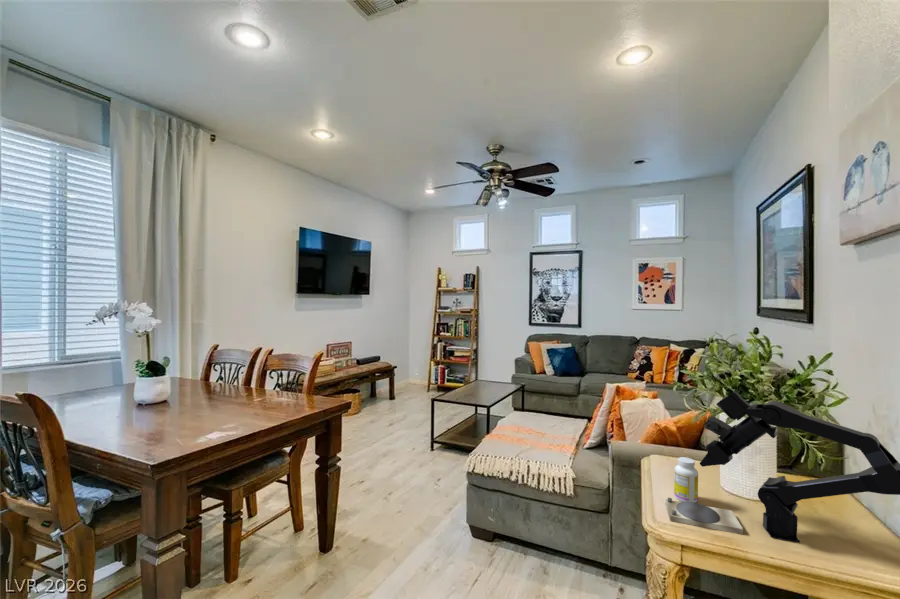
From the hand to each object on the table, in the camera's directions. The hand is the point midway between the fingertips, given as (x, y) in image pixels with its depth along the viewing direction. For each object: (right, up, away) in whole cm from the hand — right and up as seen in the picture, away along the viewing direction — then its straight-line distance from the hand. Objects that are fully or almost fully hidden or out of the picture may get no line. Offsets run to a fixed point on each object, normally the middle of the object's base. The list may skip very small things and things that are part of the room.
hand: (706, 460), depth 125 cm
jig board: (-6, -15, -6) cm, 17 cm away
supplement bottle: (-4, -15, +5) cm, 16 cm away
